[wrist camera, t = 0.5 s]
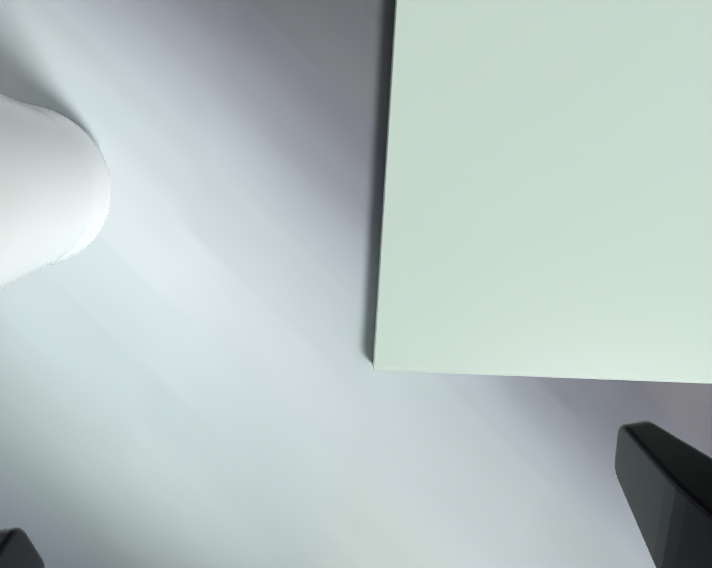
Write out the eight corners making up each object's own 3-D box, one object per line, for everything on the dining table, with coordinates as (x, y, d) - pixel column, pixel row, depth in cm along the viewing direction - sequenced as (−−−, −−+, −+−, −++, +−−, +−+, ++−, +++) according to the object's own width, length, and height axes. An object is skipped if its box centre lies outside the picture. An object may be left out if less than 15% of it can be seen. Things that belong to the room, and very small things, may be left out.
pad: (733, 379, 23) (743, 384, 23) (372, 364, 23) (374, 370, 22) (834, -203, 20) (849, -214, 19) (410, -241, 19) (412, -254, 19)
